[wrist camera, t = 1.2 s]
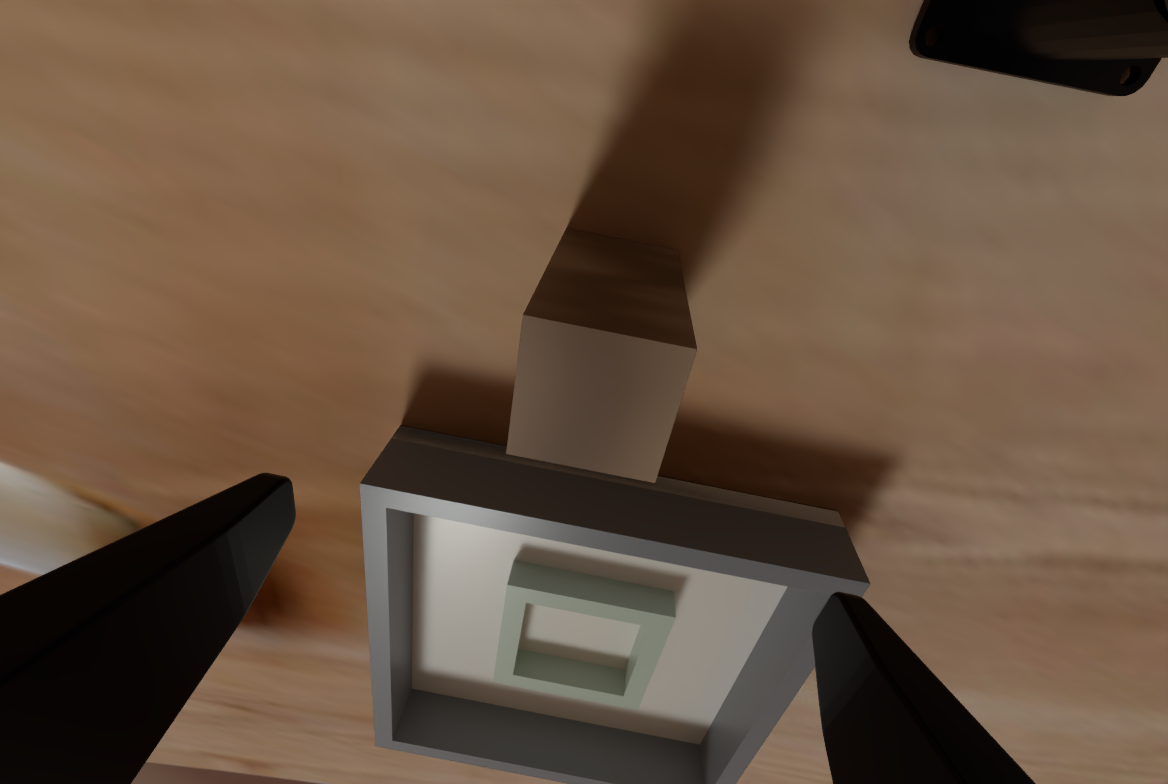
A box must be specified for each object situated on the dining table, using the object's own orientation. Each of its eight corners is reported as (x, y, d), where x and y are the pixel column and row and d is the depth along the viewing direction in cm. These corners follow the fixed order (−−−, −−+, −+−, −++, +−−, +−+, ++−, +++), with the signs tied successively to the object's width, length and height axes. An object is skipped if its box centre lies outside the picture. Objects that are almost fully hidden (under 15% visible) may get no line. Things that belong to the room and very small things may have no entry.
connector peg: (677, 250, 19) (697, 349, 12) (651, 350, 21) (655, 483, 14) (566, 228, 19) (523, 314, 12) (550, 330, 21) (506, 453, 14)
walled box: (838, 511, 24) (870, 583, 21) (709, 738, 34) (716, 812, 31) (400, 425, 24) (359, 483, 21) (402, 679, 34) (375, 746, 31)
